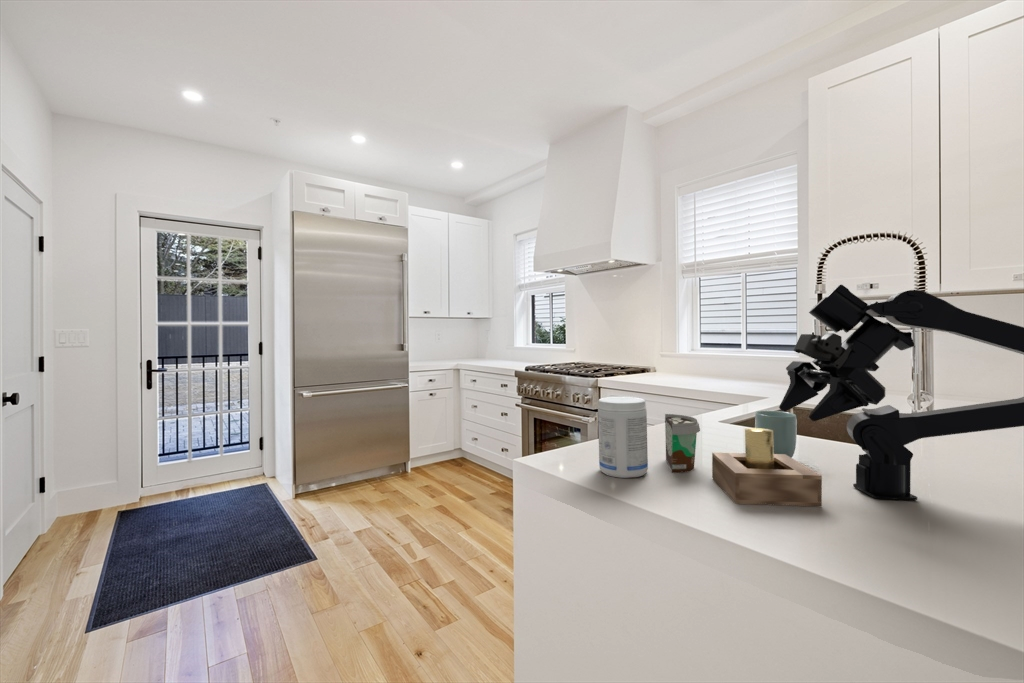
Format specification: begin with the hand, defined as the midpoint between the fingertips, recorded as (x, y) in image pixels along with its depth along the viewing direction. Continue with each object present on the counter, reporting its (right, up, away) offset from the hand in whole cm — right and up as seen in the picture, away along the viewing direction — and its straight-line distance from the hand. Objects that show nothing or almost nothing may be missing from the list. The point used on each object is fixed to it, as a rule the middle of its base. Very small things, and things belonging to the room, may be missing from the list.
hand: (795, 414), depth 80 cm
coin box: (-5, -14, +1) cm, 15 cm away
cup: (+8, -13, +21) cm, 26 cm away
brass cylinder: (-6, -13, +1) cm, 14 cm away
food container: (-13, -14, +16) cm, 25 cm away
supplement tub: (-27, -14, +13) cm, 33 cm away
